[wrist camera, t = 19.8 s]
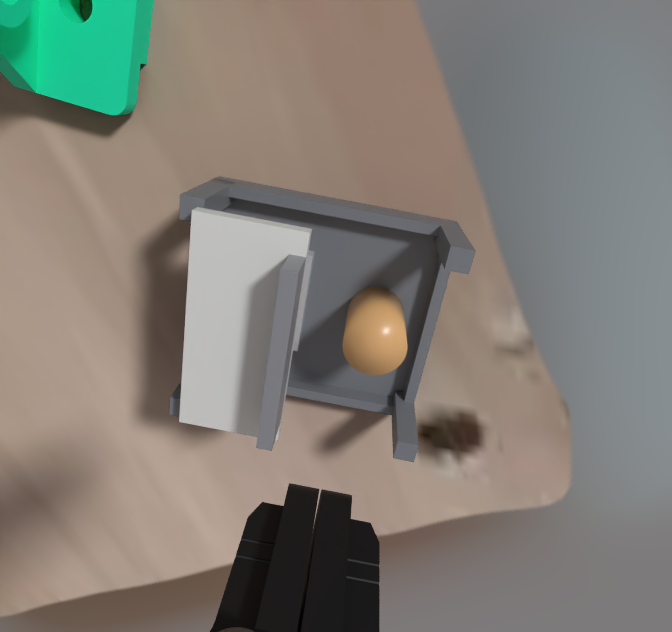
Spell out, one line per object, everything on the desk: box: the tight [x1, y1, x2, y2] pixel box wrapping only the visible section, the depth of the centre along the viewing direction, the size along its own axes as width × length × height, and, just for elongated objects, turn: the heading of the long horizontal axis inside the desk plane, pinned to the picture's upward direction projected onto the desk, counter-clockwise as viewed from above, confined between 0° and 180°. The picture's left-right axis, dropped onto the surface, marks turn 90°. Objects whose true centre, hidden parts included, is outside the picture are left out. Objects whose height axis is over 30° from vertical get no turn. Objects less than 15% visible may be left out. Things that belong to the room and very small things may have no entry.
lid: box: [179, 207, 312, 451], centre depth 32 cm, size 7×15×4 cm, turn 170°
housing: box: [169, 177, 475, 462], centre depth 37 cm, size 18×16×8 cm
